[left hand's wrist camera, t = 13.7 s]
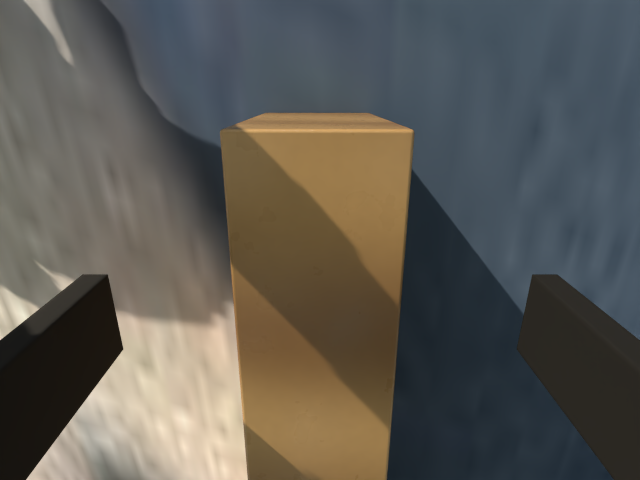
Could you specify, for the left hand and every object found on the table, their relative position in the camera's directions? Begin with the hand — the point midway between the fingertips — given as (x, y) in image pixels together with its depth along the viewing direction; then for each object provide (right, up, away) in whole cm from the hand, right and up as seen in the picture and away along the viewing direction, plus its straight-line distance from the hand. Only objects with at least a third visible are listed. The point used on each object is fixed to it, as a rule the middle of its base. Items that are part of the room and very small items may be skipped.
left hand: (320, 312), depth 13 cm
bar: (0, -16, +14) cm, 21 cm away
